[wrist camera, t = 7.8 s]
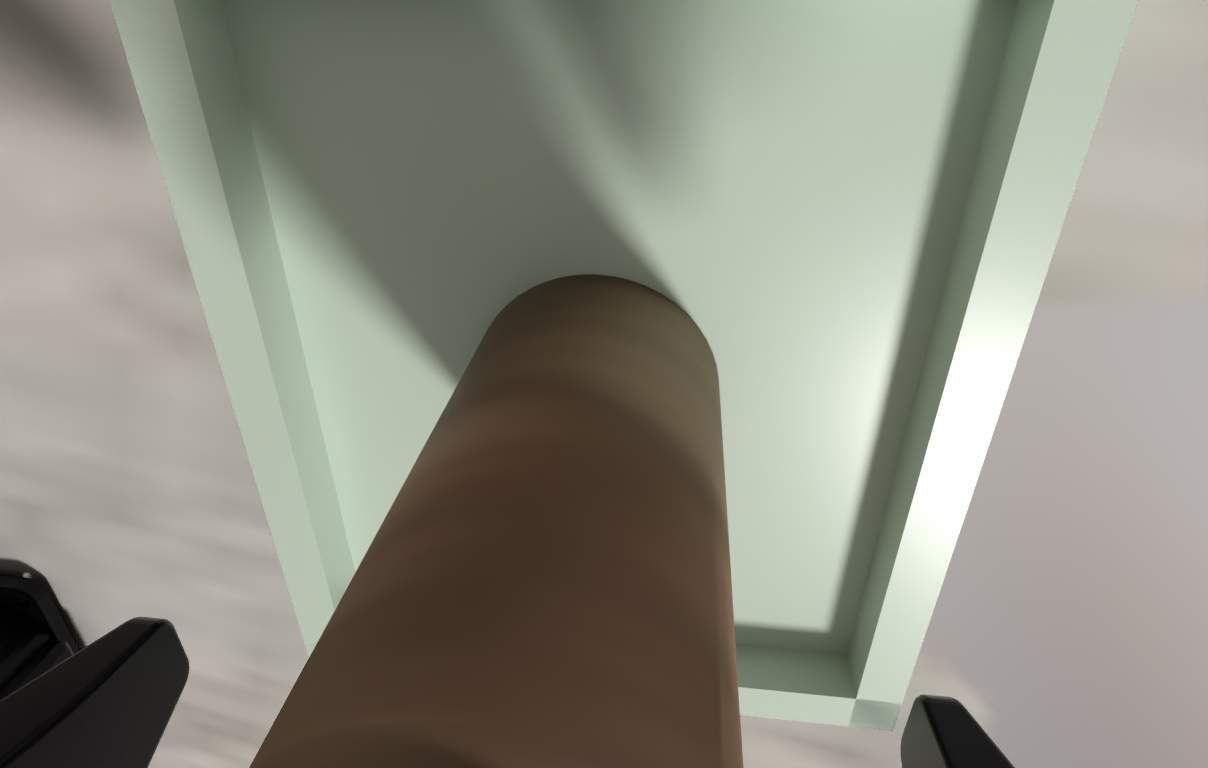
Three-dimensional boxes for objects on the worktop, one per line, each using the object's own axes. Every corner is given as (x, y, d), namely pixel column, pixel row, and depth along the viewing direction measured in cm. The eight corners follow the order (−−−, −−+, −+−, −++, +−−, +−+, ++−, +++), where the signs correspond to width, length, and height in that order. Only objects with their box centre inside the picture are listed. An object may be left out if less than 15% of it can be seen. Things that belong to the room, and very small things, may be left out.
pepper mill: (486, 477, 16) (221, 1149, 7) (465, 268, 13) (19, 890, 5) (709, 492, 15) (732, 1227, 7) (730, 279, 13) (812, 988, 4)
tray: (346, 608, 20) (312, 670, 18) (170, -92, 12) (79, -98, 10) (875, 658, 19) (892, 731, 17) (1095, -92, 10) (1171, -99, 9)
